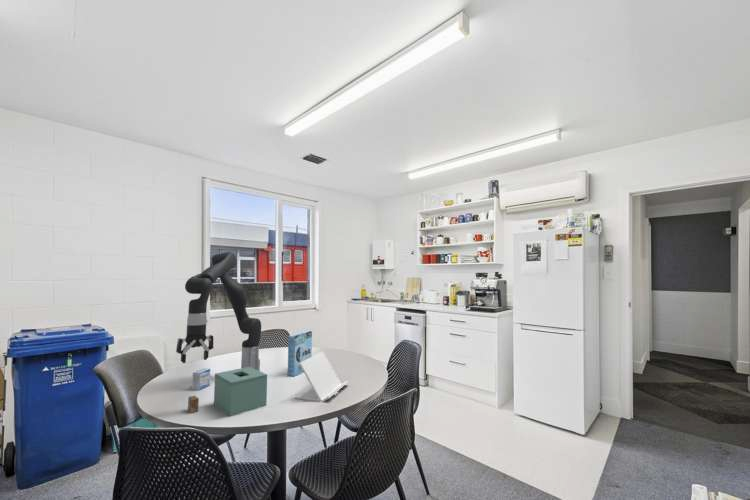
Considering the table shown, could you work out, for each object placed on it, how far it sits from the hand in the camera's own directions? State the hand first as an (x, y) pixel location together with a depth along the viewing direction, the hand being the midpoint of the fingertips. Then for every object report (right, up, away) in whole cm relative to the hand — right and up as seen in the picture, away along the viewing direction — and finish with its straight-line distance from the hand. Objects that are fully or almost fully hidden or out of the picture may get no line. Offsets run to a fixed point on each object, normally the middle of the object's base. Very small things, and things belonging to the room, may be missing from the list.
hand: (194, 361), depth 145 cm
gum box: (+33, -26, +57) cm, 70 cm away
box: (+18, -21, +5) cm, 28 cm away
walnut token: (0, -21, -2) cm, 21 cm away
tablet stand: (+52, -23, +22) cm, 62 cm away
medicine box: (-12, -23, +28) cm, 38 cm away
